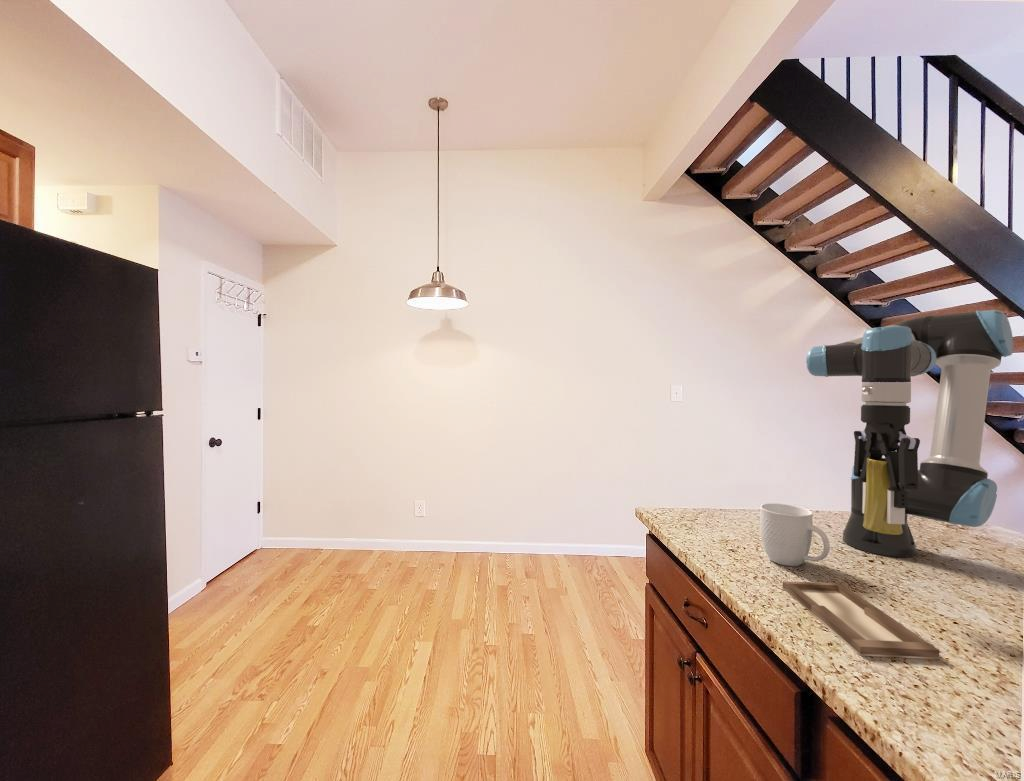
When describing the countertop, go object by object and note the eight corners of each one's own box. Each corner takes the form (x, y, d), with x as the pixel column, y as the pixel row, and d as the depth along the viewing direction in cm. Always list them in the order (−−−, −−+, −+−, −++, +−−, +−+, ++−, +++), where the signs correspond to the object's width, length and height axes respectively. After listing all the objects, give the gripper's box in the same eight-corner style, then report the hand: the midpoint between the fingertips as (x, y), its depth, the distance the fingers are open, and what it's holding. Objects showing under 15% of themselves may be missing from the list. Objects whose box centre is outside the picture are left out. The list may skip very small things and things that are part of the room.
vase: (855, 524, 90) (856, 456, 90) (884, 525, 90) (886, 457, 90) (879, 534, 84) (881, 462, 84) (911, 535, 84) (913, 462, 84)
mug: (838, 569, 102) (839, 515, 102) (818, 581, 96) (819, 523, 96) (772, 549, 115) (773, 500, 114) (750, 558, 109) (751, 507, 108)
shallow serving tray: (841, 590, 92) (841, 583, 92) (939, 659, 69) (939, 650, 69) (782, 588, 93) (782, 581, 93) (860, 655, 70) (860, 646, 70)
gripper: (833, 401, 96) (831, 504, 96) (904, 406, 77) (901, 533, 78) (869, 402, 96) (866, 505, 96) (949, 406, 77) (945, 535, 77)
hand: (882, 518), depth 87 cm, fingers closed on vase, 6 cm apart
